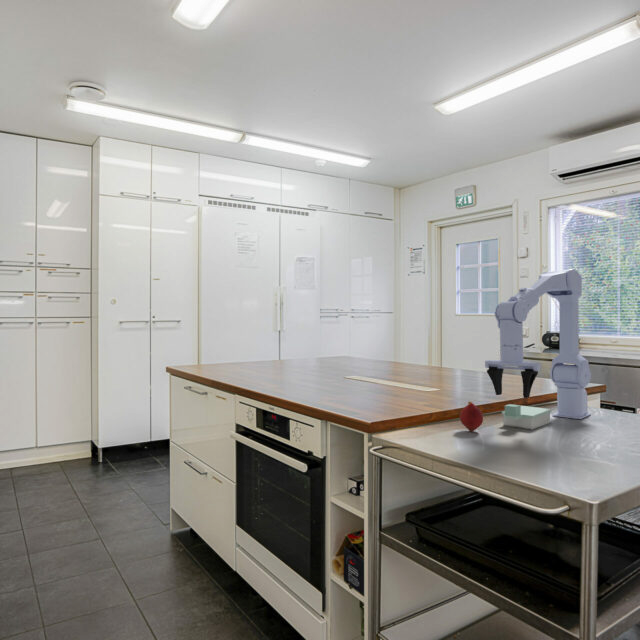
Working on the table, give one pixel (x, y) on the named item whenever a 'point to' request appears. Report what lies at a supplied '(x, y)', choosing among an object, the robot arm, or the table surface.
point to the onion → (471, 416)
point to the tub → (528, 422)
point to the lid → (523, 412)
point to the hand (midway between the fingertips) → (512, 396)
